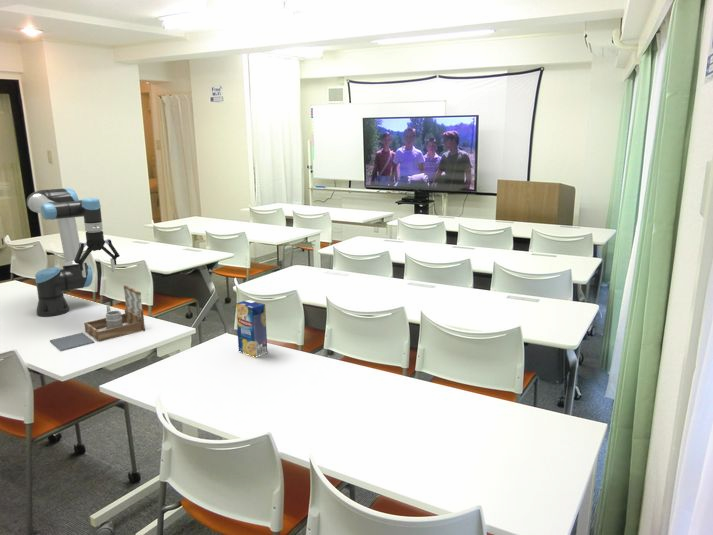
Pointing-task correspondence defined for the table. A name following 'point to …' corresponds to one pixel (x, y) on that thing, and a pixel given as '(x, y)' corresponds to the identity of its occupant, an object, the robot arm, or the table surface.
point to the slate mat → (71, 341)
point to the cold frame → (130, 317)
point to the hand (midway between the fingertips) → (99, 274)
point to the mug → (113, 318)
